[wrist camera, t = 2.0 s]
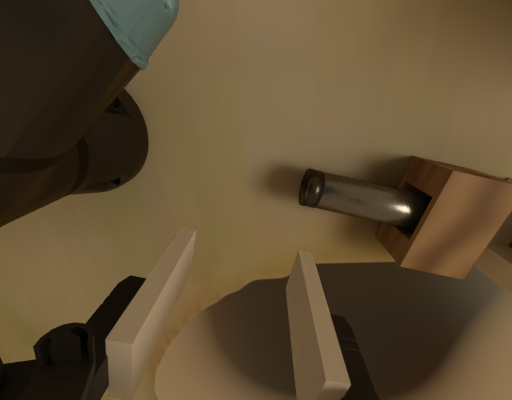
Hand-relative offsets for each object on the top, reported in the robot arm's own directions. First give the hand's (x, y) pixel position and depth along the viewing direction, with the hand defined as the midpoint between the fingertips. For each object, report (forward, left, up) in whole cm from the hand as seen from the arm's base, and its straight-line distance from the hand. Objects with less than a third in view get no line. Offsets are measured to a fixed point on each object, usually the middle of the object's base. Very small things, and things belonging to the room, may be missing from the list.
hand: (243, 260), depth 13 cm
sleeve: (+23, 0, -20) cm, 30 cm away
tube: (+17, 0, -19) cm, 25 cm away
